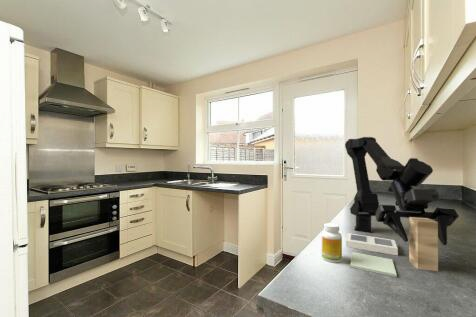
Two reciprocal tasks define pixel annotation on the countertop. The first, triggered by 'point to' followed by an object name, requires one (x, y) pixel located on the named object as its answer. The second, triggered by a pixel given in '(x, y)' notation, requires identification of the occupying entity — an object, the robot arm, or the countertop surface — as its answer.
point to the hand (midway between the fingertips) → (425, 242)
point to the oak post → (423, 243)
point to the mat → (373, 264)
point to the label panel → (372, 244)
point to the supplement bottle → (331, 243)
